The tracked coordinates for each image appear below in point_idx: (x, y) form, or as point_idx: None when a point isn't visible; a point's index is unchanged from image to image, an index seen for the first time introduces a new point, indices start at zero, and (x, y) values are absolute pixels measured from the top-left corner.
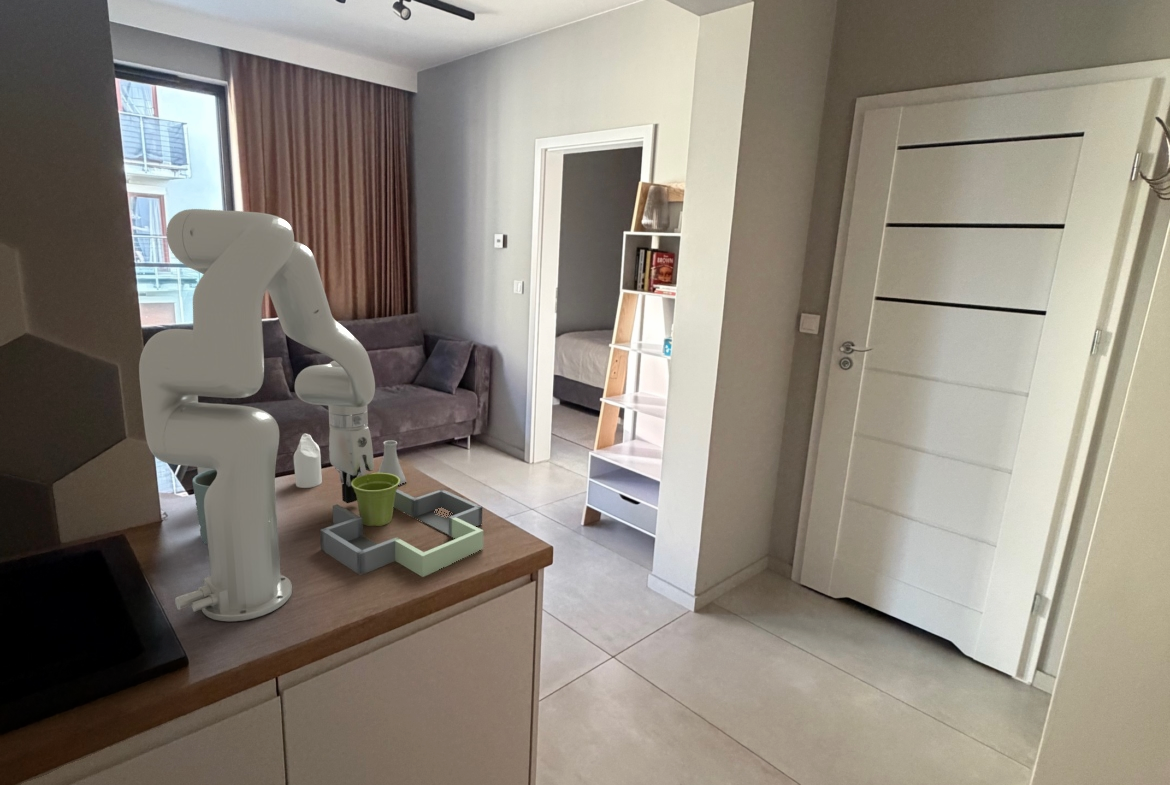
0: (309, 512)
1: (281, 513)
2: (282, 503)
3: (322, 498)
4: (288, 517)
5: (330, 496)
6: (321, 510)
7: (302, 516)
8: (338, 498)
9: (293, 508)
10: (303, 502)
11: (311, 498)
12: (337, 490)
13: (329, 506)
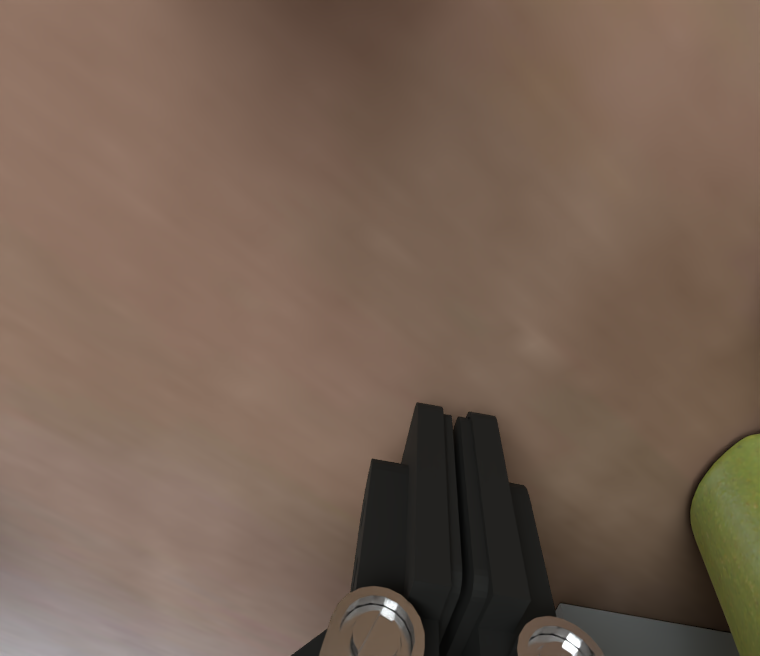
0: (287, 585)
1: (187, 638)
2: (49, 575)
3: (122, 429)
4: (263, 650)
5: (122, 375)
6: (318, 545)
7: (308, 623)
8: (208, 369)
9: (164, 588)
10: (110, 522)
11: (72, 464)
12: (17, 253)
13: (300, 489)
